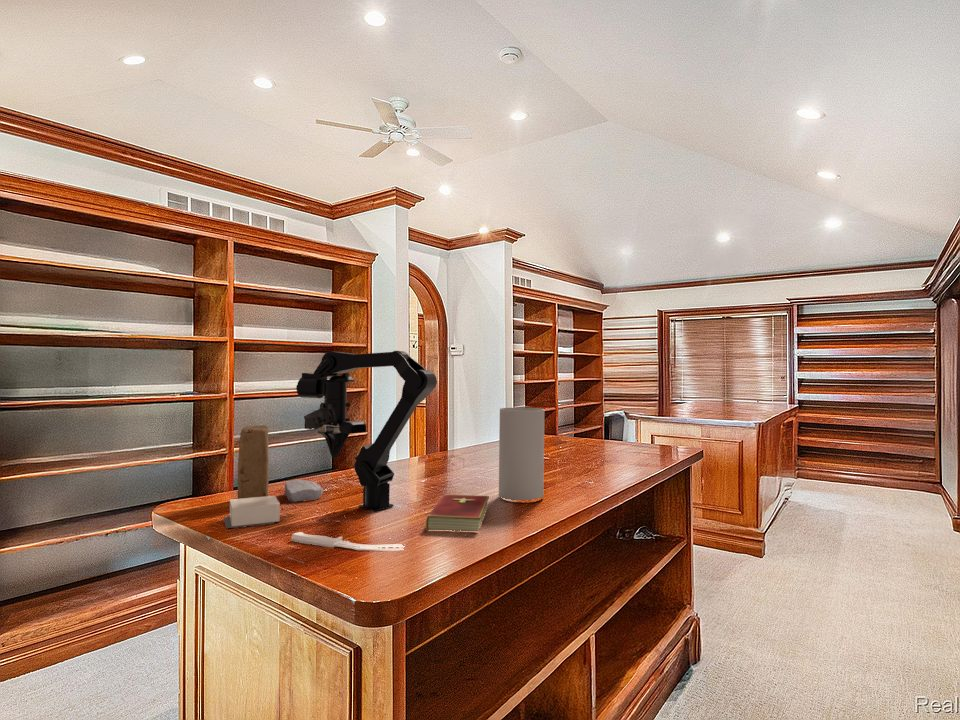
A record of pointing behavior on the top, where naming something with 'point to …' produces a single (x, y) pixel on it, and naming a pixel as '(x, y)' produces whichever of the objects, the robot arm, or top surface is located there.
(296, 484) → the stone block
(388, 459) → the robot arm
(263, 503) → the off-white thick block
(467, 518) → the hardcover book
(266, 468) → the block
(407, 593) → the top surface
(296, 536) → the knife
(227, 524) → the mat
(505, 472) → the cylinder vase
